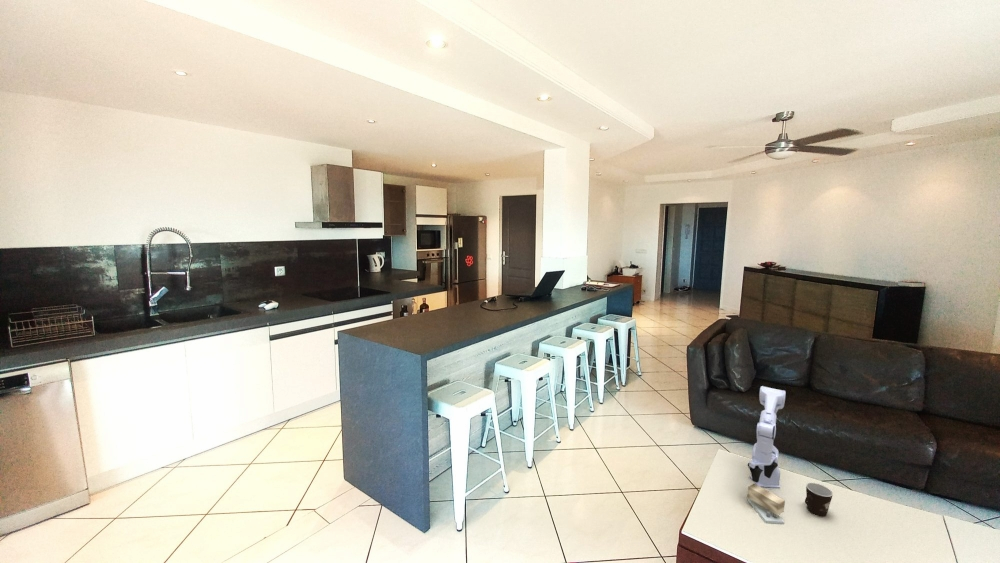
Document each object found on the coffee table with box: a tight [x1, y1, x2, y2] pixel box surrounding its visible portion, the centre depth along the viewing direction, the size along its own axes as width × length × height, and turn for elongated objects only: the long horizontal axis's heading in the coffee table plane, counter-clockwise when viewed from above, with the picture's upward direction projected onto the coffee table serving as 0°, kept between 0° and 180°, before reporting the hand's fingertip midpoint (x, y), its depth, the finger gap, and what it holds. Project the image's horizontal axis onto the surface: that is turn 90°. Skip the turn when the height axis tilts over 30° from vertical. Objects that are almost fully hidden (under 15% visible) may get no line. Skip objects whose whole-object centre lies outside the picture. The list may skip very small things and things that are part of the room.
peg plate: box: [746, 496, 785, 525], centre depth 163 cm, size 14×7×3 cm, turn 175°
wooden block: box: [746, 483, 786, 516], centre depth 163 cm, size 12×4×5 cm, turn 28°
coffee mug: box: [804, 482, 834, 518], centre depth 162 cm, size 12×9×10 cm
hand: (761, 479), depth 169 cm, fingers open, 7 cm apart
